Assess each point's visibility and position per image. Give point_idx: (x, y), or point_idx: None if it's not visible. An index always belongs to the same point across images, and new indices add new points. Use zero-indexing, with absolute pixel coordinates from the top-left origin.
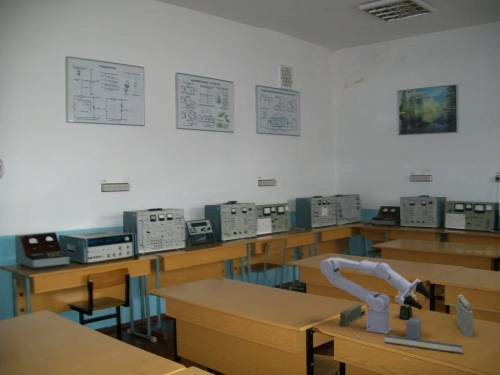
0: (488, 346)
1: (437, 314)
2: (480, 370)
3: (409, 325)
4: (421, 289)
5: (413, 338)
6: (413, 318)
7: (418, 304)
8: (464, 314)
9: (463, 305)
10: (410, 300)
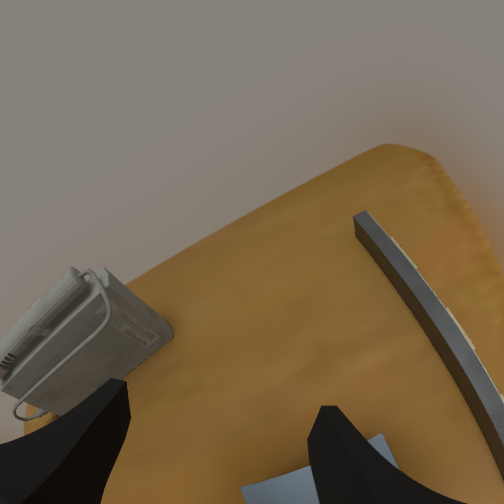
0: (229, 239)
1: None
2: (419, 150)
3: None
4: (71, 487)
5: (468, 377)
6: None
7: (357, 432)
8: (103, 311)
9: (43, 332)
10: (435, 496)
